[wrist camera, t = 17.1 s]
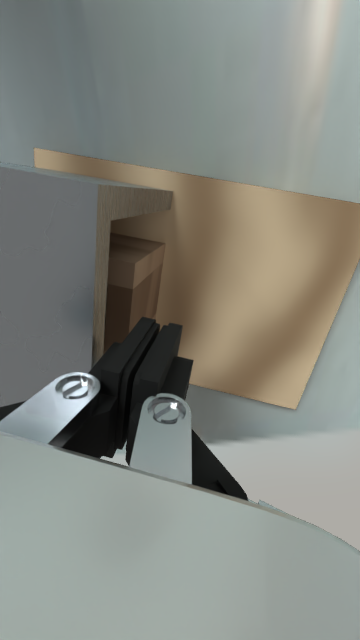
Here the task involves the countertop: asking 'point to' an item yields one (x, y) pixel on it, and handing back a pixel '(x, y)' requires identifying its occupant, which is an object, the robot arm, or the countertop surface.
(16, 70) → the countertop surface
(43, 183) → the cover
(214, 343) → the board
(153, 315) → the brown hollow cube
